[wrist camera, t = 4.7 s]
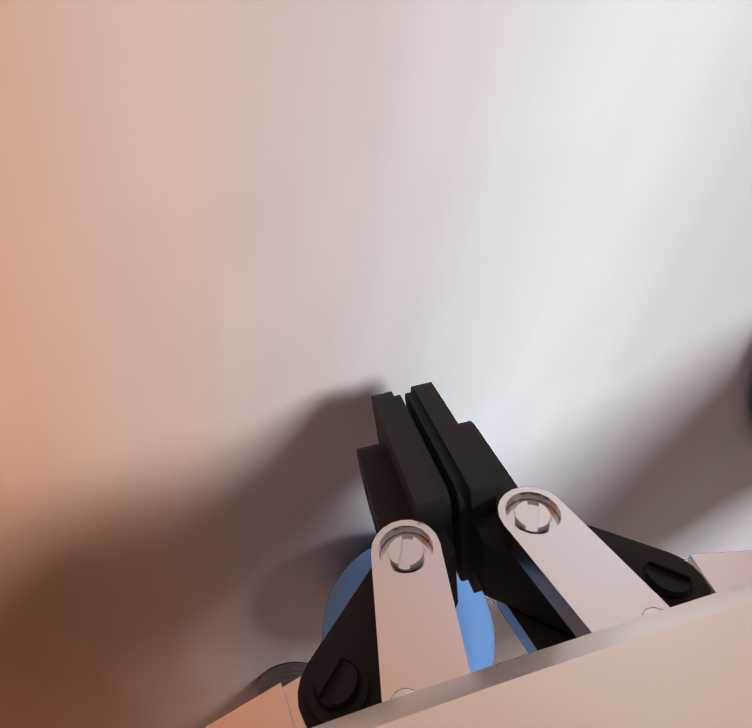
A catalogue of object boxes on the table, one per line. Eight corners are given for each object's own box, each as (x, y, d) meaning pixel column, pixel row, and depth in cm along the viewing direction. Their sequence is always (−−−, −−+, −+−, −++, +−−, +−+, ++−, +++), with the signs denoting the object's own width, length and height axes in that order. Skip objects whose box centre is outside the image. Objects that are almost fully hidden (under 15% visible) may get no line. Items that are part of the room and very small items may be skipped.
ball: (494, 735, 15) (439, 573, 19) (557, 681, 12) (473, 497, 16) (331, 784, 14) (309, 597, 18) (345, 738, 10) (314, 519, 14)
